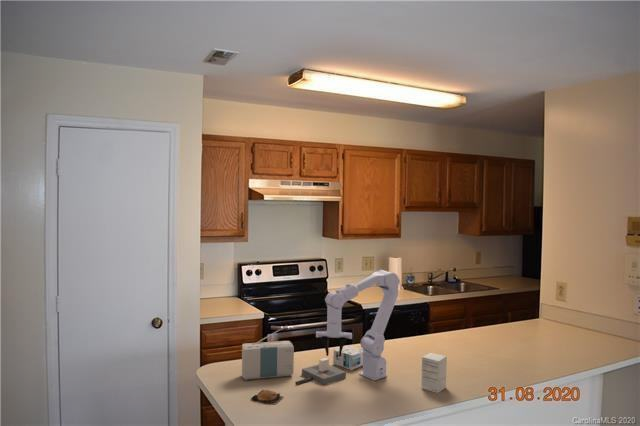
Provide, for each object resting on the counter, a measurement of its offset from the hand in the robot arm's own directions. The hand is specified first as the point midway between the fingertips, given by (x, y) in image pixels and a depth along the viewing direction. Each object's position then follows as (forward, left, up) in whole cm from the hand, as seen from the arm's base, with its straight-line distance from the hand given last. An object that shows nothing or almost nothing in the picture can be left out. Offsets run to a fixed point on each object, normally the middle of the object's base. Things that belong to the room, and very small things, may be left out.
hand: (333, 355), depth 197 cm
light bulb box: (+15, -18, -7) cm, 24 cm away
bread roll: (+2, +31, -11) cm, 33 cm away
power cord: (+6, +10, -10) cm, 16 cm away
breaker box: (+6, 0, -10) cm, 12 cm away
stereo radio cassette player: (+21, +18, -11) cm, 30 cm away
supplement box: (-30, -26, -11) cm, 41 cm away
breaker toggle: (+6, 0, -8) cm, 10 cm away
